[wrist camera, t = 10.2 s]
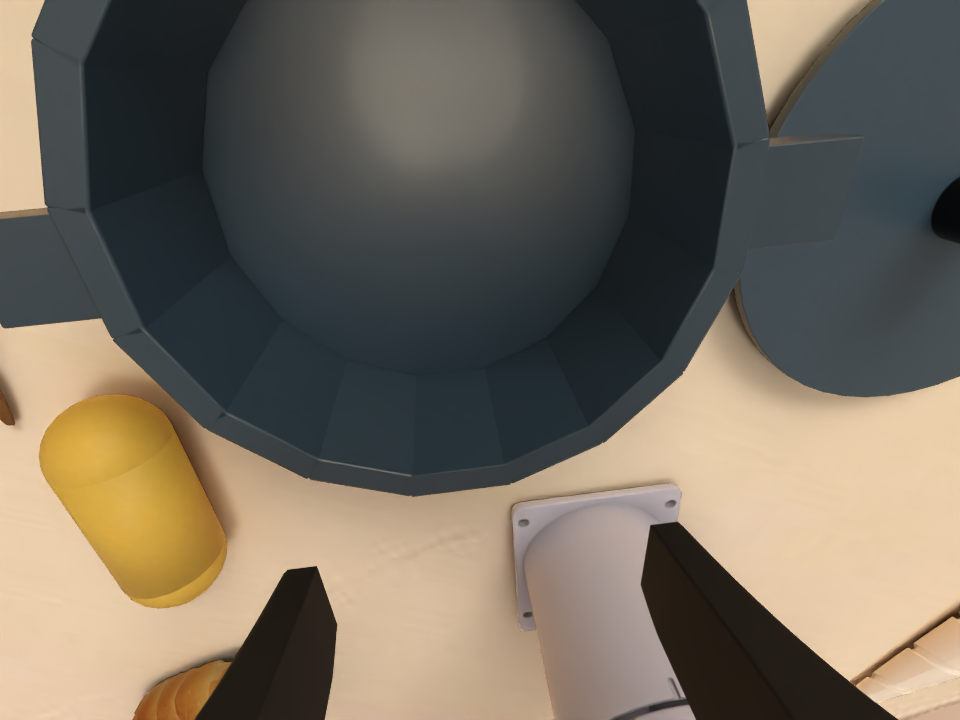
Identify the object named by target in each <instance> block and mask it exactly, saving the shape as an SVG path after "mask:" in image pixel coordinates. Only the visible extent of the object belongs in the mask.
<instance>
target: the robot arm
mask: <svg viewBox="0 0 960 720" xmlns="http://www.w3.org/2000/svg"><path fill="white" fill-rule="evenodd" d="M681 496H682V492H681V490H680V488H679V487H678V485H677V484H674V483H667V484H659V485H651V486H643V487H635V488H628V489H620V490H612V491H604V492H596V493H588V494H581V495H573V496H565V497H557V498H549V499H542V500H534V501H526V502H520V503H517V504H516V505H514V506H513V508H512V511H511V513H512V529H513V545H514V561H515V577H516V593H517V609H518V622H519V627H520V629H522V630H524V631H531V630H536V631H537V635H538V640H539V645H540V650H541V655H542V660H543V665H544V670H545V675H546V680H547V685H548V690H549V695H550V700H551V705H552V710H553V715H554V720H898V719H897V718H895V717H894V716H893V715H891V714H890V713H889V712H887V711H886V710H885V709H883V708H882V707H881V706H880V705H878V704H877V703H876V702H874V701H873V700H872V699H871V698H869V697H868V696H867V695H866V694H864V693H863V692H862V691H861V690H859V689H858V688H857V687H855V686H854V685H853V684H852V683H850V682H849V681H848V680H847V679H846V678H844V677H843V676H842V675H841V674H839V673H838V672H837V671H836V670H835V669H833V668H832V667H831V666H830V665H829V664H828V663H826V662H825V661H824V660H823V659H822V658H820V657H819V656H818V655H817V654H816V653H815V652H814V651H812V650H811V649H810V648H809V647H808V646H807V645H806V644H804V643H803V642H802V641H801V640H800V639H799V638H797V637H796V636H795V635H794V634H793V633H792V632H791V631H790V630H789V629H787V628H786V627H785V626H784V625H783V624H782V623H781V622H780V621H779V620H777V619H776V618H775V617H774V616H773V615H772V614H771V613H770V612H769V611H768V610H767V609H766V608H765V607H764V606H763V605H761V604H760V603H759V602H758V601H757V600H756V599H755V598H754V597H753V596H752V595H751V594H750V593H749V592H748V591H747V590H746V589H745V588H744V587H742V586H741V585H740V584H739V583H738V582H737V581H736V580H735V579H734V578H733V577H732V576H731V575H730V574H729V573H728V572H727V571H726V570H725V569H724V568H723V567H722V566H721V565H720V564H719V563H718V562H717V561H716V560H715V559H714V558H713V557H712V556H711V555H710V554H709V553H708V552H707V551H706V550H705V549H704V548H703V547H702V546H701V545H700V544H699V543H698V541H697V540H696V539H695V538H694V537H693V536H692V535H691V534H690V533H689V532H688V531H687V530H686V529H685V528H684V527H683V526H682V525H681V524H680V523H678V522H677V518H678V513H679V507H680V501H681ZM667 501H668V502H667ZM522 519H525V520H523V521H520V520H522ZM336 632H337V623H336V620H335V617H334V614H333V611H332V608H331V605H330V602H329V600H328V597H327V594H326V591H325V588H324V585H323V582H322V579H321V577H320V574H319V571H318V568H317V566H315V567H307V568H299V569H291V570H287V571H286V572H285V573H284V574H283V576H282V578H281V580H280V581H279V583H278V585H277V587H276V589H275V590H274V592H273V594H272V596H271V597H270V599H269V601H268V603H267V604H266V606H265V608H264V610H263V611H262V613H261V615H260V616H259V618H258V620H257V622H256V623H255V625H254V627H253V628H252V630H251V632H250V633H249V635H248V637H247V638H246V640H245V642H244V643H243V645H242V647H241V648H240V650H239V651H238V653H237V655H236V656H235V658H234V659H233V661H232V663H231V664H230V666H229V667H228V669H227V670H226V672H225V674H224V675H223V677H222V678H221V680H220V682H219V683H218V685H217V686H216V688H215V689H214V691H213V692H212V694H211V695H210V697H209V698H208V700H207V701H206V703H205V704H204V706H203V707H202V709H201V710H200V712H199V713H198V715H197V716H196V718H195V719H194V720H325V715H326V710H327V704H328V699H329V694H330V688H331V683H332V677H333V667H334V656H335V644H336Z"/></svg>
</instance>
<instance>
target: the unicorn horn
mask: <svg viewBox="0 0 960 720" xmlns="http://www.w3.org/2000/svg"><path fill="white" fill-rule="evenodd" d="M959 614H960V612H959ZM914 647H915V649H913V650H911V649H910V648H906V649H905V650H903V651H902V652H900V653H899V654H898V655H896V656H895V657H893V658H892V659H891V660H889V661H888V662H886V663H885V664H884V665H882V666H881V667H880V668H878V669H877V670H876V671H874V672H873V673H872V678H870V677H866V678H865V679H863V680H862V681H861V682H860V683H858V684H857V685H856V686H855V687H857V688H858V689H859V690H861V691H862V692H863V693H864V694H866V695H867V696H868V697H869V698H871V699H872V700H873V701H874V702H876V703H878V702H881V701H885V700H888V699H892V698H895V697H899V696H902V695H905V694H908V693H911V692H913V691H919V690H922V689H925V688H928V687H931V686H935V685H938V684H941V683H944V682H947V681H950V680H954V679H957V678H960V618H959V619H956V618H954V617H951V618H949V619H948V620H946V621H945V622H944V623H942V624H941V625H939V626H938V627H936V628H935V629H933V630H932V631H930V632H929V633H927V634H926V635H925V636H923V637H922V638H920V639H919V640H917V641H916V642H915V643H914Z"/></svg>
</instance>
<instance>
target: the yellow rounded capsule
mask: <svg viewBox="0 0 960 720" xmlns="http://www.w3.org/2000/svg"><path fill="white" fill-rule="evenodd" d="M39 461H40V467H41V470H42V473H43V475H44V477H45V479H46V481H47V482H48V484H49V485H50V486H51V488H52V489H53V491H54V492H55V494H56V495H57V497H58V498H59V499H60V501H61V502H62V504H63V505H64V507H65V508H66V510H67V511H68V512H69V514H70V515H71V517H72V518H73V520H74V521H75V523H76V524H77V525H78V527H79V528H80V530H81V531H82V533H83V534H84V536H85V537H86V538H87V540H88V541H89V543H90V544H91V546H92V547H93V549H94V550H95V551H96V553H97V554H98V556H99V557H100V559H101V560H102V562H103V563H104V564H105V566H106V567H107V569H108V570H109V572H110V573H111V575H112V576H113V577H114V579H115V580H116V582H117V583H118V585H119V586H120V588H121V589H122V590H123V592H124V593H125V594H127V596H128V597H129V598H130V599H131V600H133V601H135V602H137V603H139V604H141V605H143V606H146V607H152V608H170V607H174V606H179V605H182V604H185V603H187V602H189V601H191V600H193V599H195V598H196V597H198V596H199V595H201V594H202V593H203V592H205V591H206V590H207V589H208V588H209V587H210V586H211V585H212V584H213V582H214V581H215V580H216V578H217V577H218V575H219V574H220V572H221V570H222V568H223V565H224V562H225V558H226V553H227V542H226V538H225V534H224V531H223V529H222V527H221V525H220V523H219V521H218V519H217V517H216V515H215V512H214V510H213V508H212V506H211V504H210V502H209V500H208V498H207V496H206V494H205V492H204V490H203V488H202V486H201V484H200V481H199V479H198V477H197V475H196V473H195V471H194V469H193V467H192V465H191V463H190V461H189V459H188V457H187V455H186V453H185V451H184V448H183V446H182V444H181V442H180V440H179V438H178V436H177V434H176V432H175V430H174V428H173V426H172V424H171V422H170V421H169V419H168V418H167V417H166V415H165V414H164V413H163V412H162V411H161V410H160V409H159V408H158V407H156V406H154V405H153V404H151V403H149V402H147V401H146V400H143V399H140V398H137V397H134V396H130V395H120V394H109V395H101V396H95V397H91V398H88V399H85V400H83V401H80V402H78V403H76V404H74V405H72V406H71V407H69V408H68V409H66V410H65V411H64V412H62V413H61V414H60V415H58V416H57V417H56V418H55V420H54V421H53V422H52V423H51V424H50V426H49V427H48V428H47V430H46V432H45V434H44V436H43V438H42V441H41V445H40V451H39Z"/></svg>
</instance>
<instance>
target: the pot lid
mask: <svg viewBox="0 0 960 720" xmlns="http://www.w3.org/2000/svg"><path fill="white" fill-rule="evenodd" d="M832 132H835V133H844V134H853V135H862V136H864V141H863V145H862V148H861V152H860V155H859V159H858V162H857V166H856V169H855V172H854V176H853V179H852V183H851V186H850V190H849V193H848V197H847V200H846V204H845V207H844V211H843V214H842V218H841V221H840V225H839V228H838V232H837V235H836V238H835V240H832V241H822V242H813V243H804V244H794V245H785V246H775V247H766V248H757V249H748V254H747V259H746V264H745V269H744V270H743V271H742V275H741V276H740V278H739V280H738V281H737V283H736V285H735V287H734V290H735V296H736V302H737V306H738V309H739V312H740V315H741V318H742V321H743V324H744V326H745V328H746V330H747V332H748V333H749V335H750V337H751V339H752V341H753V343H754V344H755V345H756V346H757V348H758V349H759V350H760V351H761V353H762V354H763V355H764V356H765V357H766V359H768V360H769V361H770V362H771V363H772V364H774V365H775V366H776V367H777V368H778V369H780V370H781V371H782V372H783V373H785V374H786V375H787V376H789V377H791V378H792V379H794V380H796V381H798V382H799V383H801V384H803V385H805V386H808V387H811V388H813V389H816V390H819V391H822V392H826V393H831V394H837V395H842V396H854V397H876V396H889V395H895V394H901V393H907V392H912V391H916V390H920V389H923V388H927V387H930V386H934V385H938V384H940V383H943V382H946V381H948V380H951V379H954V378H956V377H959V376H960V0H872V1H871V2H870V3H869V4H868V5H867V6H866V7H865V8H864V9H863V10H862V11H861V12H860V13H858V14H857V15H856V16H855V17H854V18H853V19H852V20H851V21H850V22H849V23H848V24H847V25H846V26H845V27H844V28H843V30H842V31H841V32H840V33H839V34H838V35H837V36H836V37H835V39H834V40H833V41H832V42H831V43H830V44H829V45H828V46H827V48H826V49H825V50H824V51H823V52H822V53H821V54H820V55H819V57H818V58H817V59H816V61H815V62H814V63H813V65H812V66H811V68H810V69H809V70H808V72H807V73H806V74H805V76H804V77H803V78H802V80H801V81H800V82H799V84H798V85H797V86H796V88H795V89H794V91H793V92H792V94H791V95H790V97H789V99H788V100H787V102H786V104H785V105H784V107H783V109H782V110H781V112H780V114H779V115H778V117H777V119H776V120H775V122H774V123H773V125H772V127H771V129H770V131H769V133H770V134H769V138H780V137H791V136H801V135H812V134H822V133H832Z"/></svg>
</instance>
